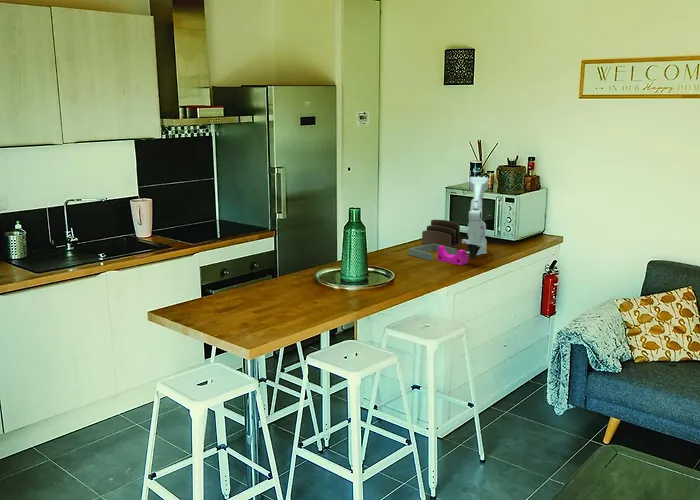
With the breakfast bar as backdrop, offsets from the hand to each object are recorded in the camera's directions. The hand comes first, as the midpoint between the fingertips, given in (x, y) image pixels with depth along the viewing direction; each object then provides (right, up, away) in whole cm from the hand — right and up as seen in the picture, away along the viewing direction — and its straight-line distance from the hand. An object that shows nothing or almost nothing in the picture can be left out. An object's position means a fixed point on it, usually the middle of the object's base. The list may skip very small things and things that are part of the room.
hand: (473, 259), depth 349 cm
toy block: (-9, -2, +9) cm, 13 cm away
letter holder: (-10, +7, +48) cm, 49 cm away
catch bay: (-18, +2, +22) cm, 29 cm away
